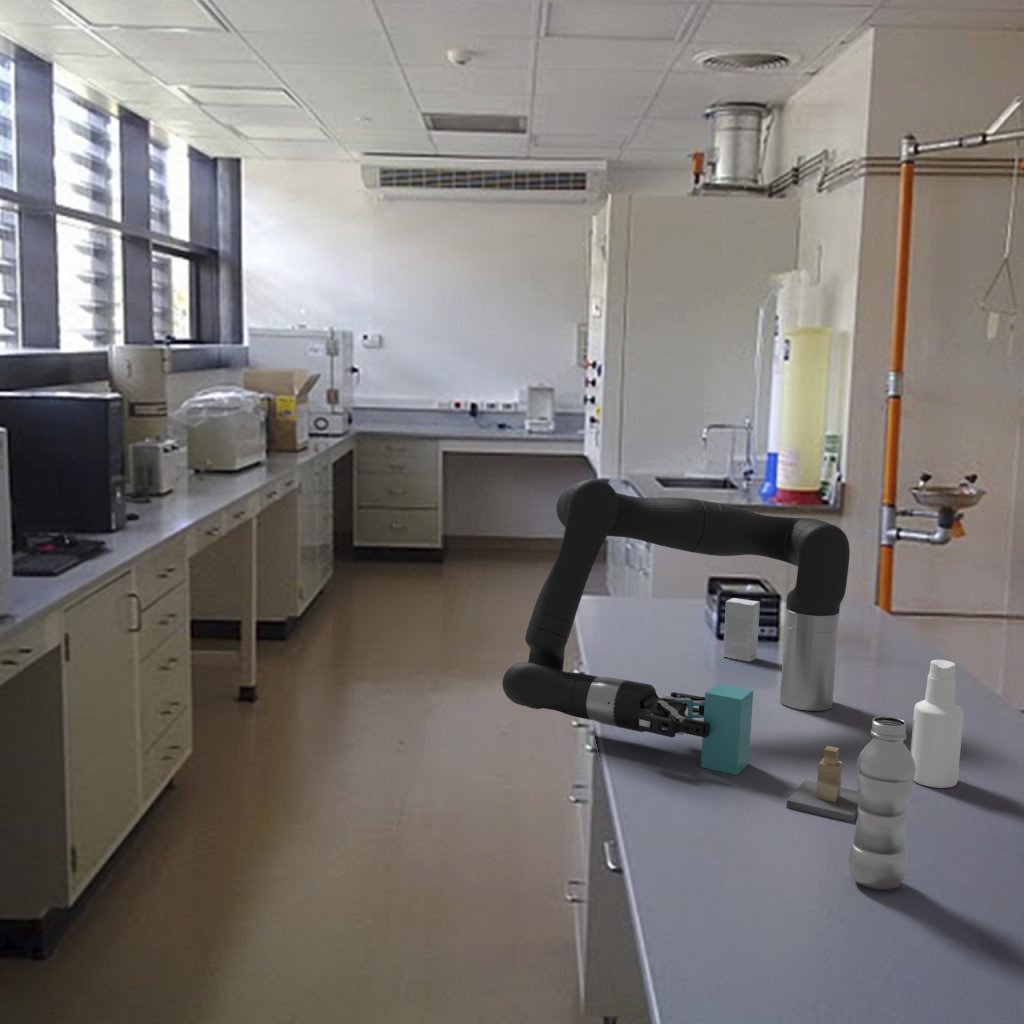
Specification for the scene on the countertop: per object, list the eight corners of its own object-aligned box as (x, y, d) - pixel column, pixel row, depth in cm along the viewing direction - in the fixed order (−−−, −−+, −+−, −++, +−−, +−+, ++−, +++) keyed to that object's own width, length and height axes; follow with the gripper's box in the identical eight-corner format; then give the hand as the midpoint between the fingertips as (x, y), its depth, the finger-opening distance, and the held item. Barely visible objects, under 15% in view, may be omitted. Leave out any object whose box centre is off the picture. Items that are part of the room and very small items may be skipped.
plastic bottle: (838, 871, 136) (850, 712, 133) (891, 870, 136) (905, 712, 133) (858, 897, 129) (872, 730, 126) (915, 896, 130) (929, 730, 127)
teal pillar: (713, 756, 173) (717, 683, 172) (748, 763, 171) (753, 690, 169) (700, 767, 169) (705, 692, 167) (736, 775, 166) (741, 699, 164)
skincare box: (757, 658, 231) (761, 601, 229) (749, 662, 228) (753, 605, 226) (729, 653, 234) (732, 597, 233) (721, 657, 231) (725, 600, 229)
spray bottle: (956, 775, 168) (966, 659, 166) (958, 792, 162) (969, 671, 159) (908, 769, 171) (918, 654, 168) (908, 784, 164) (918, 665, 162)
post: (804, 786, 162) (808, 733, 161) (867, 800, 158) (872, 745, 157) (786, 807, 155) (790, 751, 153) (852, 822, 150) (857, 765, 149)
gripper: (603, 691, 171) (704, 711, 163) (640, 670, 183) (736, 687, 175) (601, 738, 172) (701, 760, 164) (638, 714, 184) (733, 733, 176)
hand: (719, 722), depth 169 cm, fingers open, 8 cm apart
